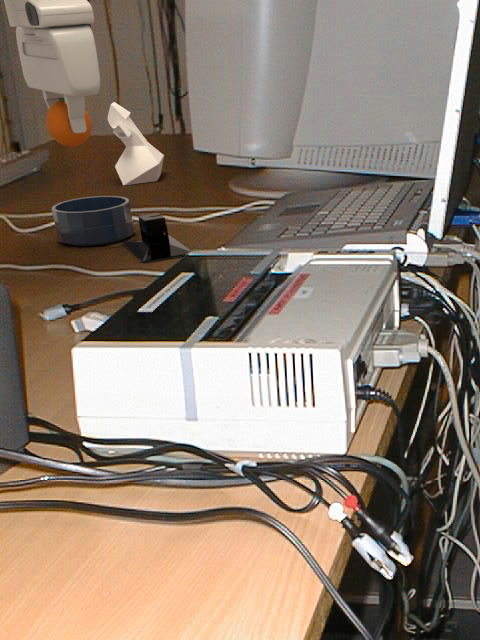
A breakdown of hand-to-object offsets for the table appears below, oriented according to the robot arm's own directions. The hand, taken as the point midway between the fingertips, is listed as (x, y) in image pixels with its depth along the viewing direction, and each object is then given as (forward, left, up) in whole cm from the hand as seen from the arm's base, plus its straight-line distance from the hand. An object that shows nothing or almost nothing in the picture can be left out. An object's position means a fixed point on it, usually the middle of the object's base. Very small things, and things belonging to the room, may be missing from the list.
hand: (70, 130), depth 117 cm
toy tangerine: (0, 0, +1) cm, 1 cm away
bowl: (+4, +11, -17) cm, 20 cm away
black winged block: (+8, -2, -17) cm, 19 cm away
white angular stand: (+28, +52, -17) cm, 61 cm away
